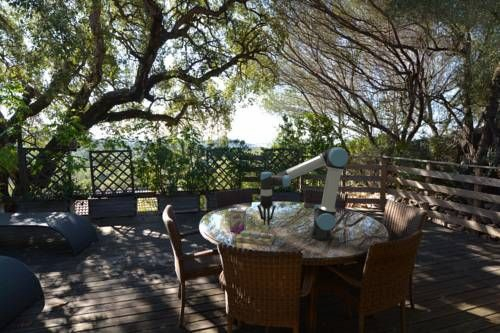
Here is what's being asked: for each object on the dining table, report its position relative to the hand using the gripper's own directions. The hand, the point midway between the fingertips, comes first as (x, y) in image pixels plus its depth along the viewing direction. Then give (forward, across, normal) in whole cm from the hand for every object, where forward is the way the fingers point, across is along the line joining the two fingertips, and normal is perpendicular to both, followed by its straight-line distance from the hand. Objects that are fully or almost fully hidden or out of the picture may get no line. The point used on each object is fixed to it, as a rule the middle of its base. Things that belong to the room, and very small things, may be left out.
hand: (266, 229), depth 211 cm
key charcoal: (+7, -1, 0) cm, 7 cm away
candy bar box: (+8, -25, +14) cm, 30 cm away
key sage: (+5, -15, 0) cm, 16 cm away
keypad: (+8, -8, 0) cm, 11 cm away
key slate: (+6, -8, 0) cm, 10 cm away
